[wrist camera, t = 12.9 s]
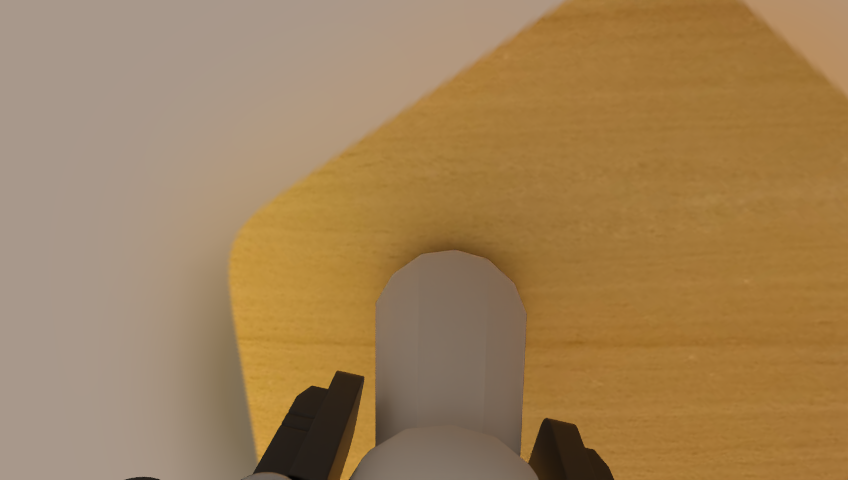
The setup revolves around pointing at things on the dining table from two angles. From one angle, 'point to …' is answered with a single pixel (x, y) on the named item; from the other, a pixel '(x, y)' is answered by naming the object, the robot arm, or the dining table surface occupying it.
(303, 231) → the dining table surface
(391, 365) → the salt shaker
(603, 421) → the dining table surface
